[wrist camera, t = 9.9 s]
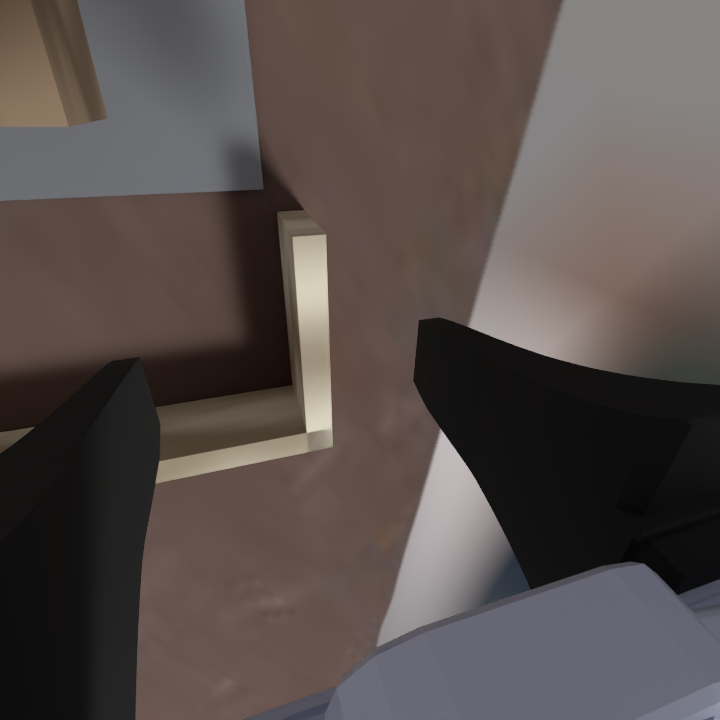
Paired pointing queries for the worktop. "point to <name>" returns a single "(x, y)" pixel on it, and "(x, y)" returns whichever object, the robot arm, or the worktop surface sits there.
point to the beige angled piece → (263, 407)
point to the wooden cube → (46, 66)
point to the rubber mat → (150, 108)
